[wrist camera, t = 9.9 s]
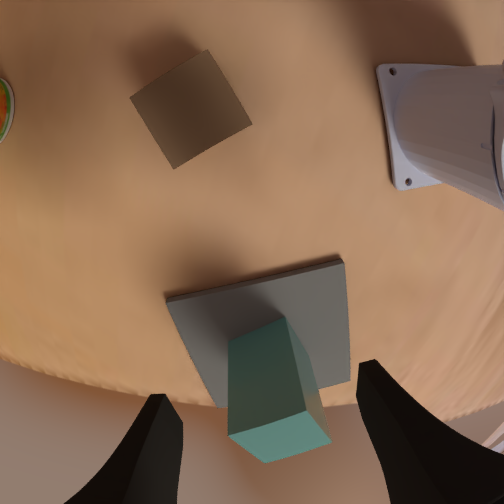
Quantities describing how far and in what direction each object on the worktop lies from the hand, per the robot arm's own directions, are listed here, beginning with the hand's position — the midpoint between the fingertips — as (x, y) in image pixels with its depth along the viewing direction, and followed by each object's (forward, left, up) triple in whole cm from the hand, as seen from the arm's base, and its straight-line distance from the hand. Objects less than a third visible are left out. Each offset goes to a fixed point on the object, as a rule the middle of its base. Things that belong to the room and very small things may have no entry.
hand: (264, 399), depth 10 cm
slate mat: (0, +7, -10) cm, 12 cm away
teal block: (0, +7, -10) cm, 12 cm away
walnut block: (+1, -10, -11) cm, 15 cm away
